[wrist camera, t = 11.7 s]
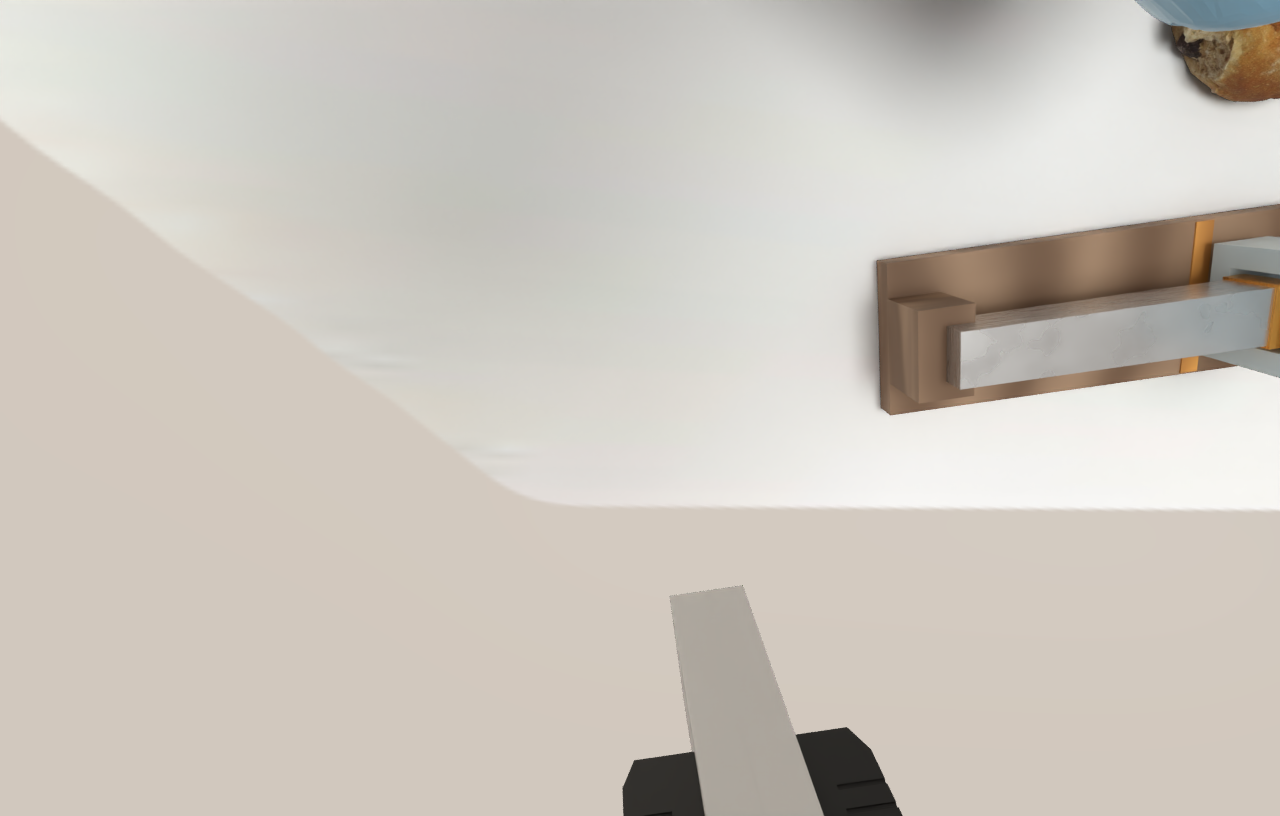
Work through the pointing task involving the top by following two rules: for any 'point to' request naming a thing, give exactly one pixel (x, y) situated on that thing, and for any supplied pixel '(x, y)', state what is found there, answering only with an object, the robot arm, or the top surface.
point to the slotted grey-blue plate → (1253, 260)
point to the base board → (1038, 298)
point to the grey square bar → (1115, 331)
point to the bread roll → (1234, 60)
